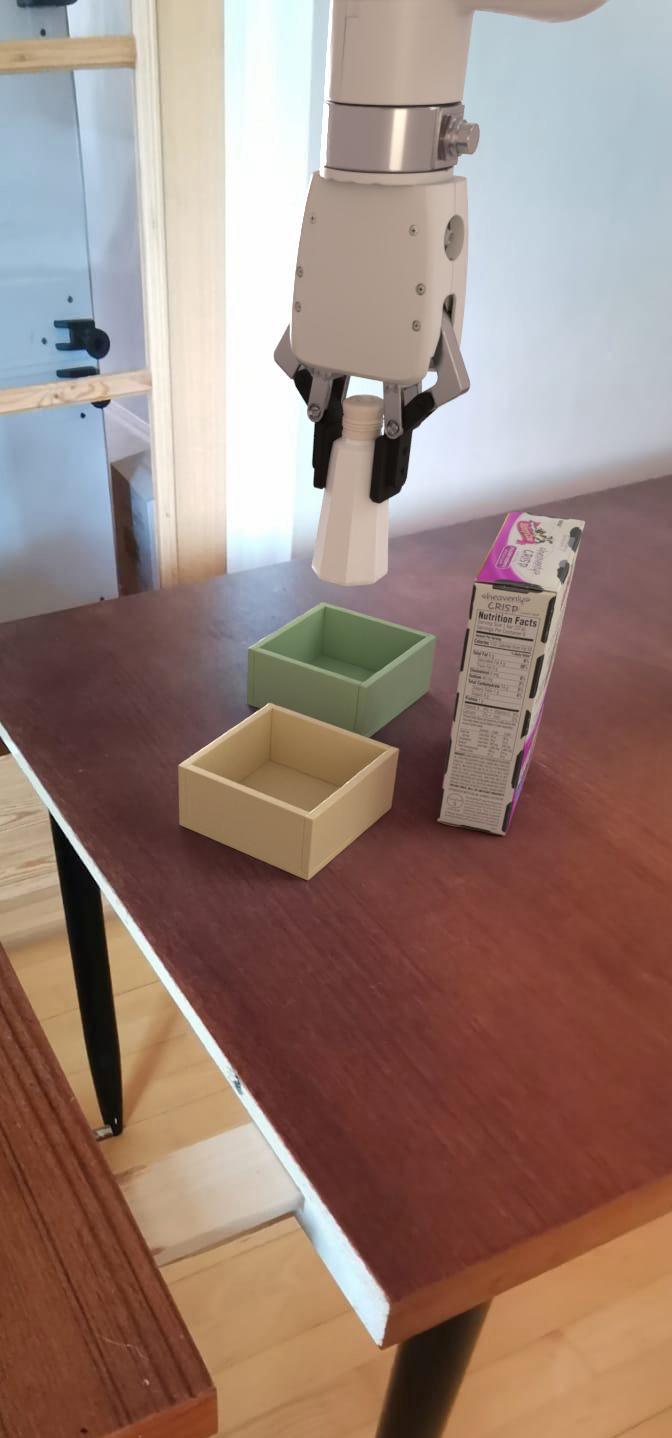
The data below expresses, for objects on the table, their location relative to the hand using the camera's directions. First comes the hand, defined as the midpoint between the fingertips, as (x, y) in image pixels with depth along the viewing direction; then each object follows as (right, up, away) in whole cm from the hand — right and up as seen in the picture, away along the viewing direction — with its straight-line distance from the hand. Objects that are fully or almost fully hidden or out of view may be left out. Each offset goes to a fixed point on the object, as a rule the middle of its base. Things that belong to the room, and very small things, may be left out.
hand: (357, 487), depth 74 cm
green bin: (0, -11, +11) cm, 15 cm away
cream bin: (-5, -22, -1) cm, 23 cm away
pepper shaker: (0, -4, +4) cm, 6 cm away
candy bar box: (+9, -20, +1) cm, 22 cm away
